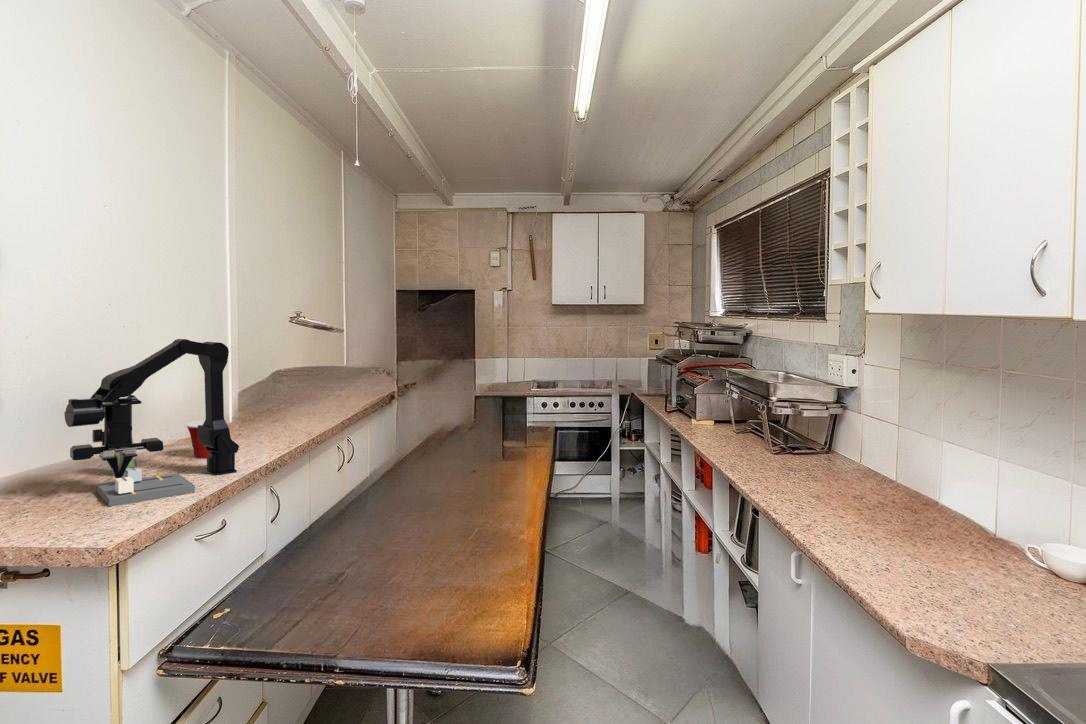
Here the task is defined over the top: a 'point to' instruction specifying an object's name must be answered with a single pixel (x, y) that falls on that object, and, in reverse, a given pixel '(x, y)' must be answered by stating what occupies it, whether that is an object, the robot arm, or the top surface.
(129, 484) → the cream fader
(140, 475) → the white fader
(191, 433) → the plastic cup
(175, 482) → the console
